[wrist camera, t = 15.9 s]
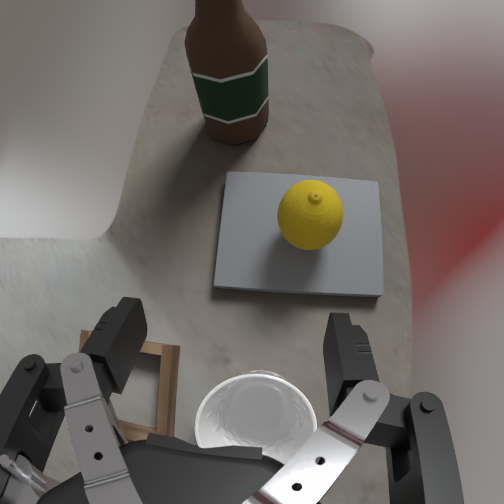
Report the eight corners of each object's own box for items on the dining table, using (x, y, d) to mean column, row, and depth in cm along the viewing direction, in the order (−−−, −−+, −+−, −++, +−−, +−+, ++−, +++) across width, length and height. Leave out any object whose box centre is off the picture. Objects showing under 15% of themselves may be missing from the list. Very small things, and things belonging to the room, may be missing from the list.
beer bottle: (231, 159, 35) (190, -43, 12) (192, 122, 37) (137, -51, 14) (282, 123, 36) (285, -67, 13) (241, 91, 38) (219, -77, 15)
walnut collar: (88, 419, 27) (76, 423, 25) (93, 331, 30) (81, 329, 28) (173, 441, 27) (165, 448, 24) (180, 346, 29) (172, 346, 27)
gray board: (216, 288, 31) (213, 285, 29) (228, 178, 34) (227, 171, 33) (378, 297, 30) (383, 295, 28) (373, 188, 33) (377, 181, 32)
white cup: (275, 348, 29) (277, 351, 19) (317, 416, 27) (338, 447, 17) (203, 388, 28) (172, 407, 19) (245, 454, 26) (234, 499, 16)
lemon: (265, 226, 31) (262, 188, 23) (309, 195, 31) (319, 151, 24) (300, 271, 29) (311, 246, 22) (345, 237, 30) (367, 203, 22)
